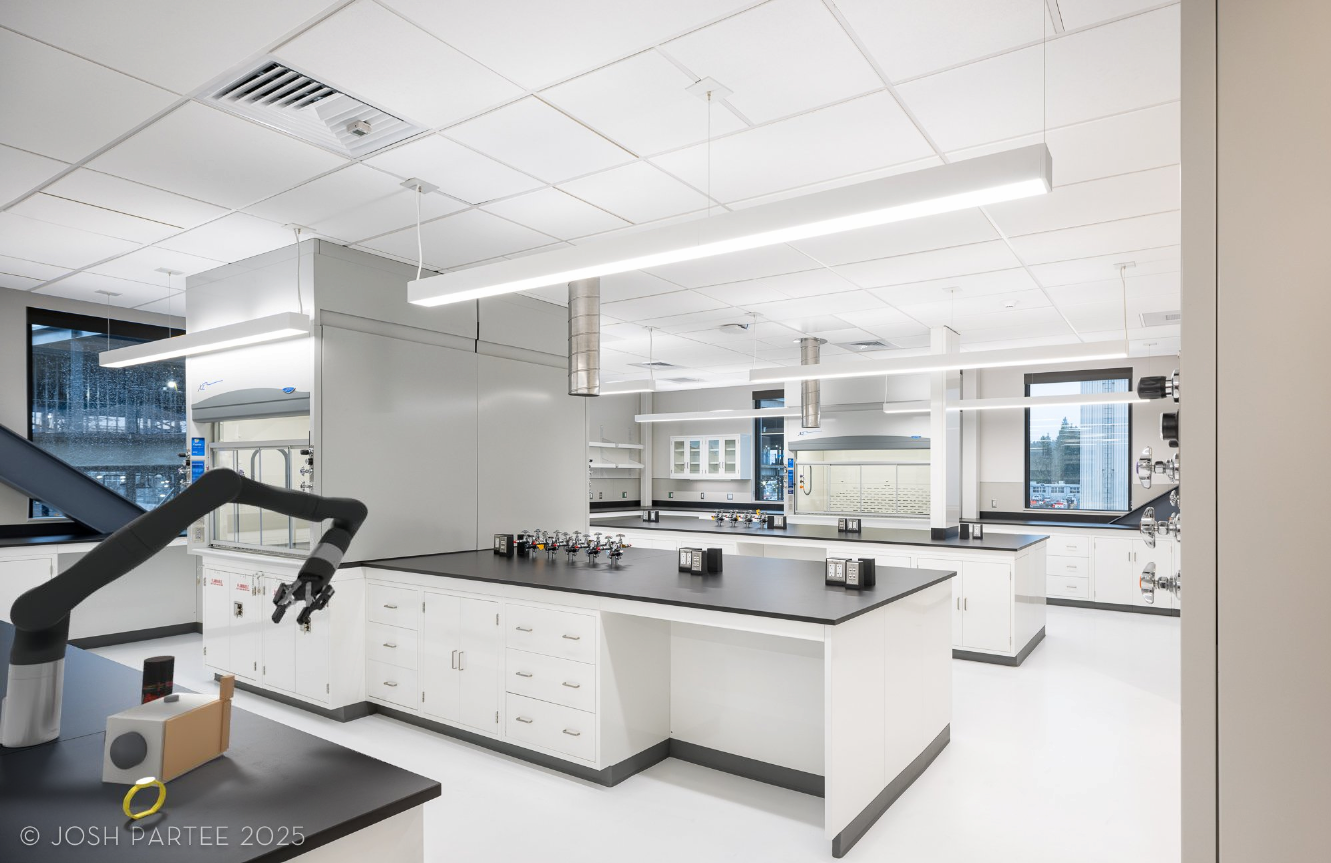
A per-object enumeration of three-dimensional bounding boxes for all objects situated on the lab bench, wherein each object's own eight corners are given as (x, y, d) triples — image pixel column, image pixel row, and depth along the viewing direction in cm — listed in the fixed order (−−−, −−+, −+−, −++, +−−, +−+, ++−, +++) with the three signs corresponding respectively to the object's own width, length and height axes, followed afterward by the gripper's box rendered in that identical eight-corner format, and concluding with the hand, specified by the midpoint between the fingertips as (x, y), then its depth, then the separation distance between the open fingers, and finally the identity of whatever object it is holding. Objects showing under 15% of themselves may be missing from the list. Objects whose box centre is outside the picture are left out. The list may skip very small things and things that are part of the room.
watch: (129, 825, 118) (128, 790, 118) (120, 821, 119) (120, 786, 119) (168, 808, 123) (167, 774, 123) (159, 805, 124) (159, 771, 124)
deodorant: (133, 725, 163) (137, 660, 164) (160, 718, 168) (164, 654, 169) (149, 729, 161) (154, 663, 162) (176, 721, 166) (180, 657, 167)
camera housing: (94, 785, 132) (99, 715, 133) (172, 749, 149) (176, 688, 150) (150, 790, 130) (155, 719, 131) (223, 754, 147) (227, 691, 148)
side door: (162, 780, 132) (167, 696, 133) (223, 750, 147) (227, 674, 148) (169, 780, 132) (175, 696, 133) (230, 750, 147) (234, 675, 148)
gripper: (289, 554, 176) (251, 611, 164) (341, 556, 174) (308, 614, 161) (301, 573, 181) (266, 630, 168) (353, 575, 179) (321, 632, 166)
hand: (287, 622), depth 165 cm, fingers open, 5 cm apart
